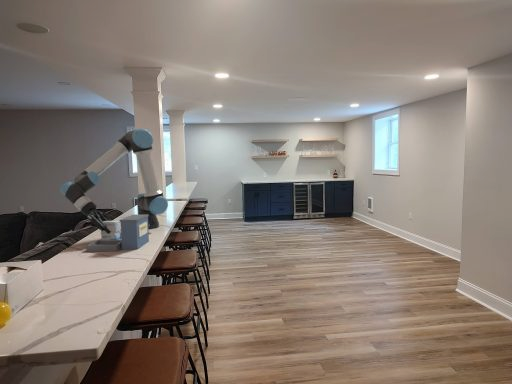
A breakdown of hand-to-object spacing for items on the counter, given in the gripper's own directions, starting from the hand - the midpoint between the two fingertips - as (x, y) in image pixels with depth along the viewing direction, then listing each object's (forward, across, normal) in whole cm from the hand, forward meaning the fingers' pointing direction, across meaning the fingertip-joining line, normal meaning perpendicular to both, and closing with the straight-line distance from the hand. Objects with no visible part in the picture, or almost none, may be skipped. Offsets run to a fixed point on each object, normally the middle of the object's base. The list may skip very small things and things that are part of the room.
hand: (117, 235), depth 173 cm
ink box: (0, 0, +6) cm, 6 cm away
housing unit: (+11, -6, -6) cm, 14 cm away
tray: (+3, -12, +3) cm, 13 cm away
